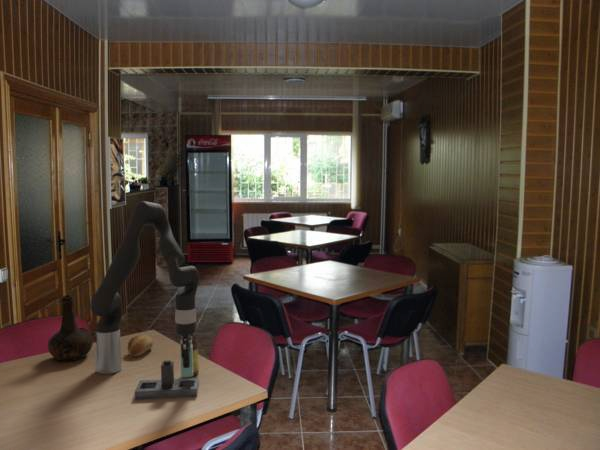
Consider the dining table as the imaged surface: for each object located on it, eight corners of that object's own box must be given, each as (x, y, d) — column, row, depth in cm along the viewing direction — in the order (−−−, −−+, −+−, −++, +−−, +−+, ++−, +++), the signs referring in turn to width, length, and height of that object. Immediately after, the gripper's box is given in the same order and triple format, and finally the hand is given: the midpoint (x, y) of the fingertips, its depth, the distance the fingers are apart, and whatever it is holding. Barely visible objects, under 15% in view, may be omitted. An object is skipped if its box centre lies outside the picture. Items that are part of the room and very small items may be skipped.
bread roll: (122, 358, 223) (121, 340, 223) (137, 347, 238) (136, 330, 237) (142, 359, 222) (142, 341, 221) (156, 347, 237) (156, 331, 236)
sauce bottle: (200, 371, 208) (199, 324, 206) (196, 377, 202) (195, 329, 200) (185, 370, 209) (184, 323, 207) (180, 376, 202) (179, 328, 201)
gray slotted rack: (134, 399, 182) (133, 367, 181) (140, 388, 192) (139, 357, 190) (196, 396, 184) (196, 364, 183) (199, 385, 194) (198, 355, 193)
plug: (181, 377, 186) (180, 345, 185) (182, 373, 190) (181, 342, 189) (192, 376, 187) (191, 345, 185) (193, 372, 191) (192, 341, 189)
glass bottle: (101, 355, 227) (99, 294, 224) (64, 368, 212) (61, 302, 209) (77, 348, 236) (74, 289, 233) (40, 360, 221) (37, 297, 218)
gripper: (194, 325, 180) (195, 371, 181) (197, 314, 194) (198, 358, 195) (173, 326, 179) (174, 373, 181) (177, 315, 193) (178, 358, 195)
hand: (187, 364), depth 188 cm, fingers closed on plug, 4 cm apart
